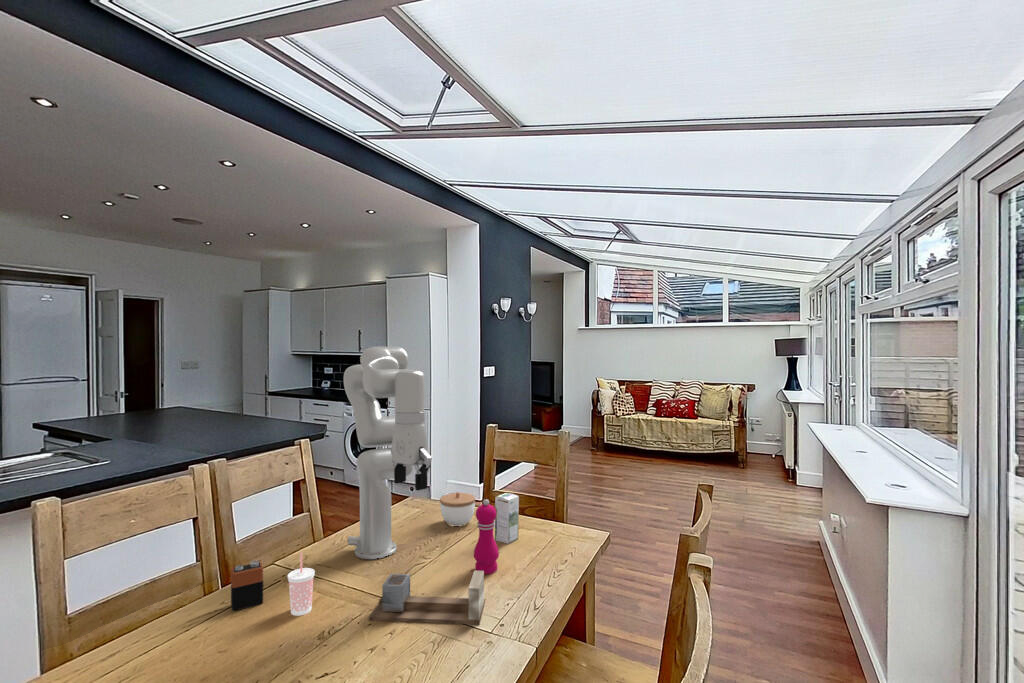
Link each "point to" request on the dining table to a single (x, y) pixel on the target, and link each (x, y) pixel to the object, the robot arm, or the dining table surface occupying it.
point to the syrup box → (506, 517)
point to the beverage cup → (301, 589)
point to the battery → (246, 585)
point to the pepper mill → (486, 539)
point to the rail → (440, 607)
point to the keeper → (395, 592)
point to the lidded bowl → (457, 508)
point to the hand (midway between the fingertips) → (410, 485)
